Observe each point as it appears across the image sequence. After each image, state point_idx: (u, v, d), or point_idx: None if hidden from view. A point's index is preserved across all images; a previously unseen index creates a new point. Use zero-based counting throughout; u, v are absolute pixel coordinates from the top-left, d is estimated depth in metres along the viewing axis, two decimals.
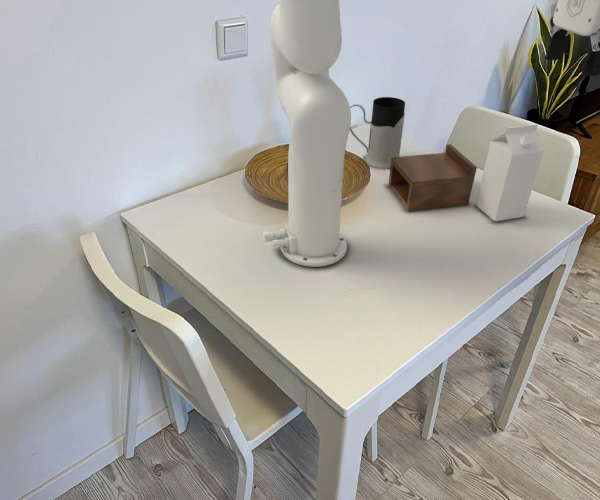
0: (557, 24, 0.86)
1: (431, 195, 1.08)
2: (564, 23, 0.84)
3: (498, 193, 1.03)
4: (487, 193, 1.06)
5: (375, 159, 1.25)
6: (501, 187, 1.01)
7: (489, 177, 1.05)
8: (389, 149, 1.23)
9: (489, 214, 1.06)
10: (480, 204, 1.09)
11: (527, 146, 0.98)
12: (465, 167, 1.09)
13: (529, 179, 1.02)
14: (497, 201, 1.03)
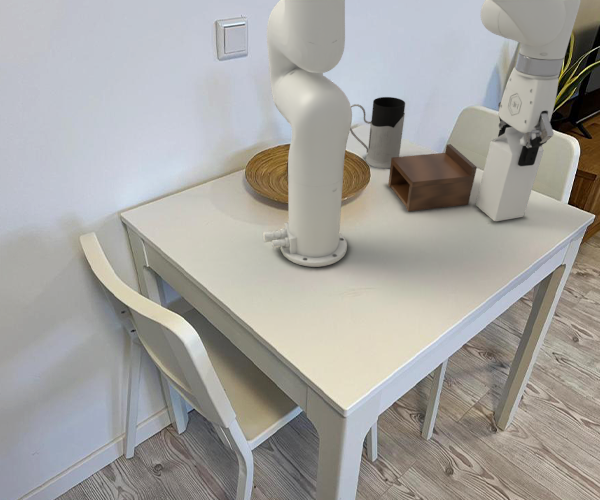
0: (502, 118, 0.99)
1: (431, 195, 1.08)
2: (506, 119, 0.98)
3: (498, 193, 1.03)
4: (487, 193, 1.06)
5: (375, 159, 1.25)
6: (501, 187, 1.01)
7: (489, 177, 1.05)
8: (389, 149, 1.23)
9: (489, 214, 1.06)
10: (480, 204, 1.09)
11: None
12: (465, 167, 1.09)
13: (529, 179, 1.02)
14: (497, 201, 1.03)
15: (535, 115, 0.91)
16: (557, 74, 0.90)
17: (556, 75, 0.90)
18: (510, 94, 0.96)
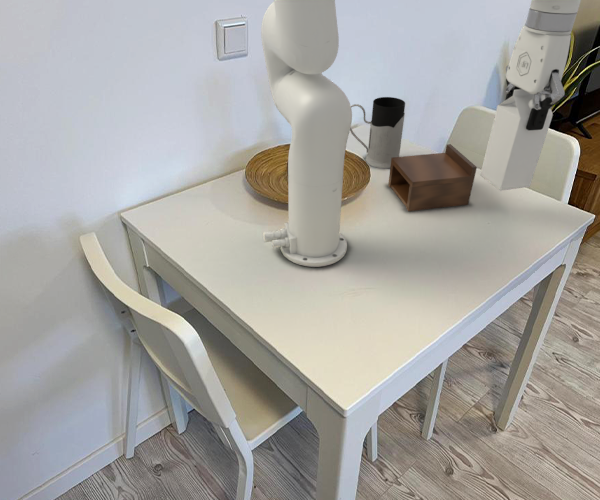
0: (509, 81, 0.95)
1: (431, 195, 1.08)
2: (515, 80, 0.94)
3: (504, 160, 0.98)
4: (492, 161, 1.02)
5: (375, 159, 1.25)
6: (507, 154, 0.97)
7: (495, 144, 1.00)
8: (389, 149, 1.23)
9: (494, 183, 1.02)
10: (485, 173, 1.05)
11: None
12: (465, 167, 1.09)
13: (537, 146, 0.97)
14: (503, 168, 0.99)
15: (545, 74, 0.87)
16: (569, 30, 0.86)
17: (568, 31, 0.85)
18: (519, 54, 0.92)
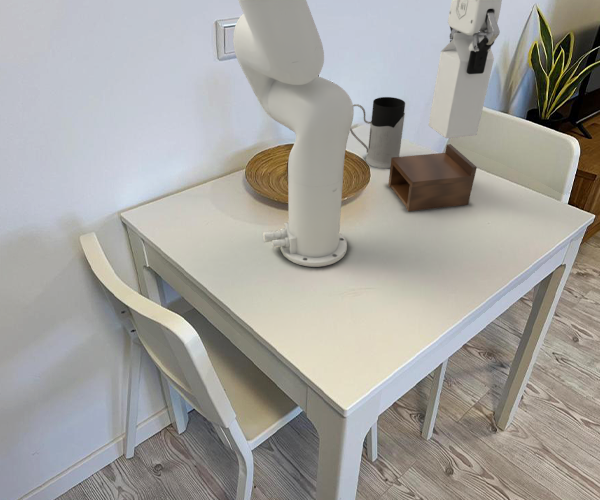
0: (450, 25, 0.95)
1: (431, 195, 1.08)
2: (455, 24, 0.93)
3: (448, 106, 0.98)
4: (438, 109, 1.02)
5: (375, 159, 1.25)
6: (450, 99, 0.97)
7: (440, 91, 1.00)
8: (389, 149, 1.23)
9: (441, 131, 1.02)
10: (432, 123, 1.04)
11: None
12: (465, 167, 1.09)
13: (480, 91, 0.97)
14: (447, 115, 0.99)
15: (481, 13, 0.87)
16: None
17: None
18: None
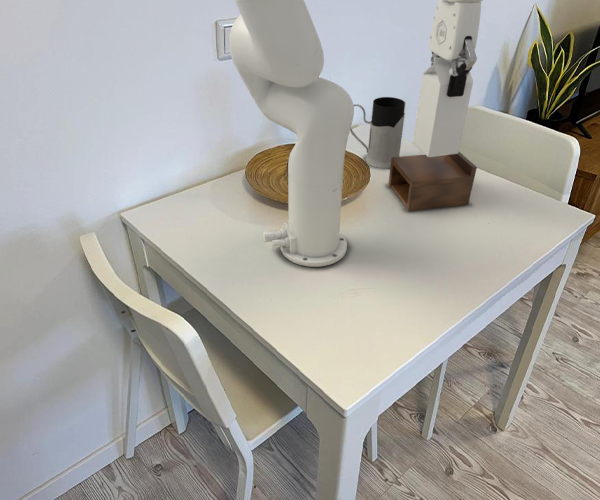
0: (431, 50, 0.99)
1: (431, 195, 1.08)
2: (435, 49, 0.97)
3: (430, 127, 1.02)
4: (421, 129, 1.06)
5: (375, 159, 1.25)
6: (432, 121, 1.01)
7: (422, 112, 1.04)
8: (389, 149, 1.23)
9: (424, 150, 1.06)
10: (416, 142, 1.08)
11: None
12: (465, 167, 1.09)
13: (461, 112, 1.01)
14: (429, 135, 1.03)
15: (459, 40, 0.91)
16: None
17: None
18: (437, 23, 0.95)
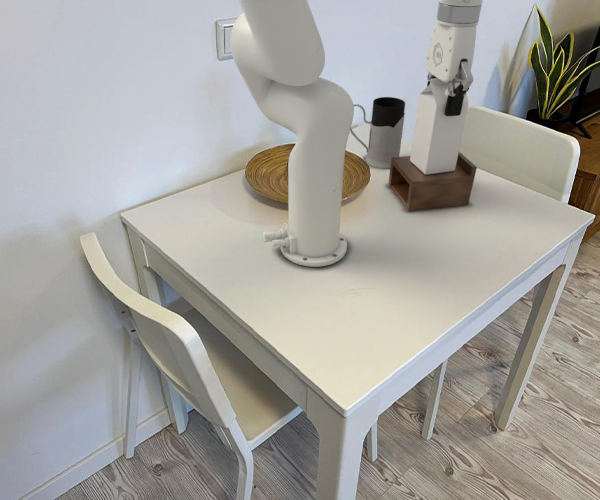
0: (428, 70, 1.01)
1: (431, 195, 1.08)
2: (432, 70, 1.00)
3: (427, 145, 1.04)
4: (418, 147, 1.08)
5: (375, 159, 1.25)
6: (429, 139, 1.03)
7: (419, 130, 1.06)
8: (389, 149, 1.23)
9: (421, 167, 1.08)
10: (413, 159, 1.11)
11: None
12: (465, 167, 1.09)
13: (457, 131, 1.03)
14: (426, 153, 1.05)
15: (454, 63, 0.93)
16: (475, 22, 0.91)
17: (474, 23, 0.91)
18: (434, 45, 0.98)
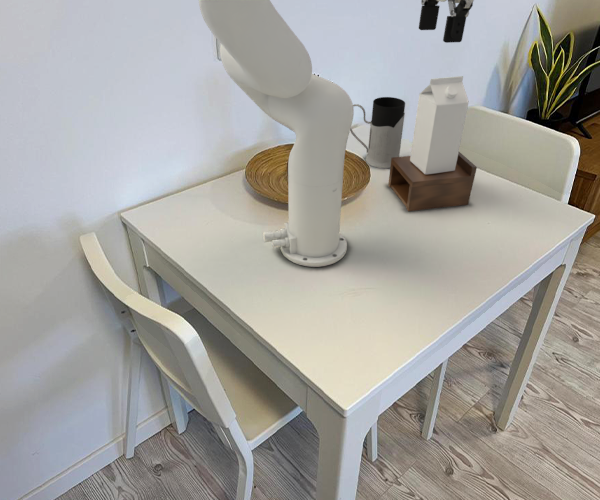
0: None
1: (431, 195, 1.08)
2: None
3: (427, 145, 1.04)
4: (418, 147, 1.08)
5: (375, 159, 1.25)
6: (429, 140, 1.03)
7: (419, 130, 1.06)
8: (389, 149, 1.23)
9: (421, 167, 1.08)
10: (413, 159, 1.11)
11: (451, 97, 0.99)
12: (465, 167, 1.09)
13: (457, 131, 1.03)
14: (426, 153, 1.05)
15: None
16: None
17: None
18: None
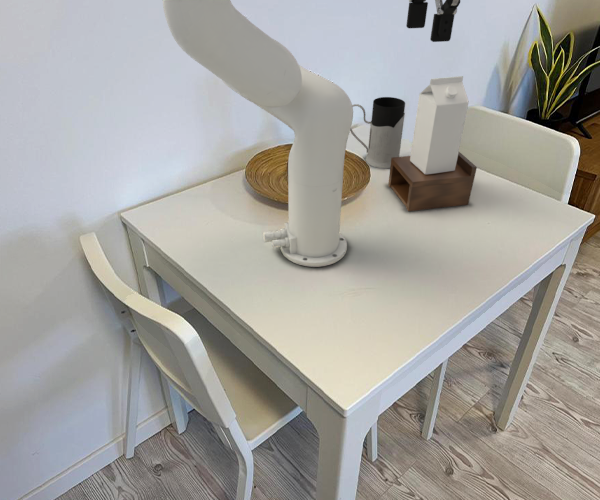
0: None
1: (431, 195, 1.08)
2: None
3: (427, 145, 1.04)
4: (418, 147, 1.08)
5: (375, 159, 1.25)
6: (429, 140, 1.03)
7: (419, 130, 1.06)
8: (389, 149, 1.23)
9: (421, 167, 1.08)
10: (413, 159, 1.11)
11: (451, 97, 0.99)
12: (465, 167, 1.09)
13: (457, 131, 1.03)
14: (426, 153, 1.05)
15: None
16: None
17: None
18: None
